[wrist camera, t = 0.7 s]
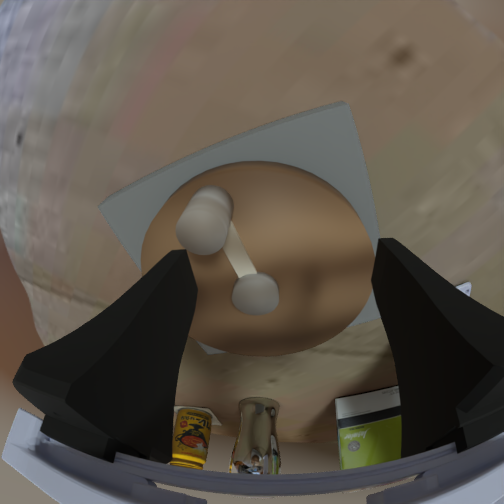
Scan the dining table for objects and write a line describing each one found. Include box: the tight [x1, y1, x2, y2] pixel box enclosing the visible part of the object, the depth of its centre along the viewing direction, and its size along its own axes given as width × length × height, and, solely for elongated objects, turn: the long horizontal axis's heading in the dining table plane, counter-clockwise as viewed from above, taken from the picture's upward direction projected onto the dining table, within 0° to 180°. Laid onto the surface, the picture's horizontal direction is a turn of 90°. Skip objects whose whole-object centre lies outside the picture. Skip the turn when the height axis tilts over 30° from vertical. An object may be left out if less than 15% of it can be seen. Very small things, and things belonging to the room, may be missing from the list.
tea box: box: [335, 386, 417, 493], centre depth 31 cm, size 15×10×15 cm, turn 105°
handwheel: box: [141, 161, 375, 356], centre depth 18 cm, size 16×16×5 cm
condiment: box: [170, 406, 222, 470], centre depth 38 cm, size 7×8×12 cm
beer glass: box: [228, 397, 281, 499], centre depth 32 cm, size 7×7×15 cm
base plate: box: [98, 101, 381, 355], centre depth 21 cm, size 18×18×2 cm
